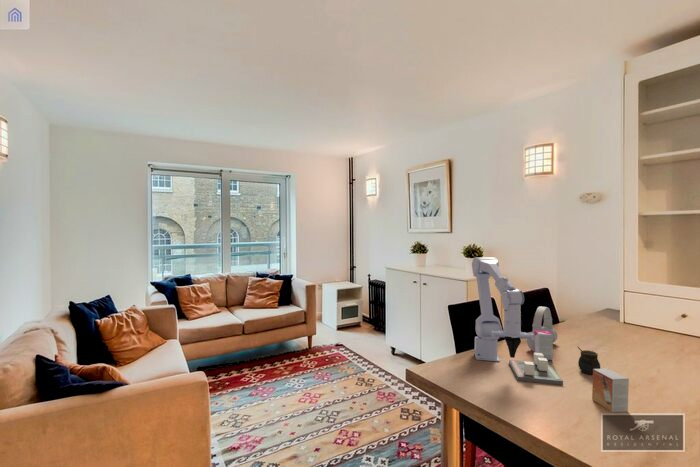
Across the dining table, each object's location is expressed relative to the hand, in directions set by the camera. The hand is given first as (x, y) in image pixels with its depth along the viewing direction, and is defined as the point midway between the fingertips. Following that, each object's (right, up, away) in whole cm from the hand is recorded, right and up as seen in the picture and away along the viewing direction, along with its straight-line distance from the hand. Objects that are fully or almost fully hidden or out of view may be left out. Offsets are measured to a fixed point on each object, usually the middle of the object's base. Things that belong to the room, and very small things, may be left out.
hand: (512, 356), depth 133 cm
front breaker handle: (+6, -6, -1) cm, 8 cm away
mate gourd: (+32, -8, +4) cm, 33 cm away
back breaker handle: (+14, -6, +8) cm, 17 cm away
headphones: (+30, -7, +33) cm, 45 cm away
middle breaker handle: (+13, -6, +3) cm, 14 cm away
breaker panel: (+10, -8, +3) cm, 13 cm away
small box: (+21, -8, -21) cm, 31 cm away
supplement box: (+22, -8, +19) cm, 30 cm away
